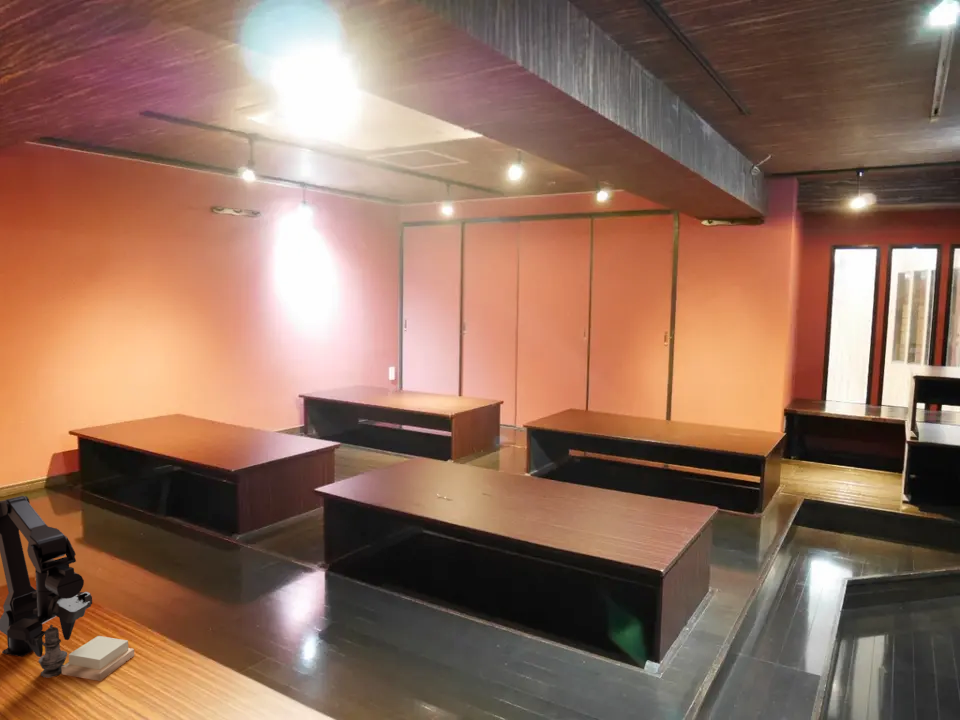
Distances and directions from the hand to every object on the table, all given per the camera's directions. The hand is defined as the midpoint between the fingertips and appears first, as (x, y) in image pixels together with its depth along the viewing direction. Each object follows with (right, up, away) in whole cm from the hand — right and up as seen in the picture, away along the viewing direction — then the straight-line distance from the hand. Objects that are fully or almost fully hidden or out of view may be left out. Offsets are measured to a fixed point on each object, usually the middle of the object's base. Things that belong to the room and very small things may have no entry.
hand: (53, 647), depth 155 cm
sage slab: (+9, -4, +4) cm, 10 cm away
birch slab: (+9, -7, +4) cm, 12 cm away
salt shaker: (0, -6, +1) cm, 6 cm away
